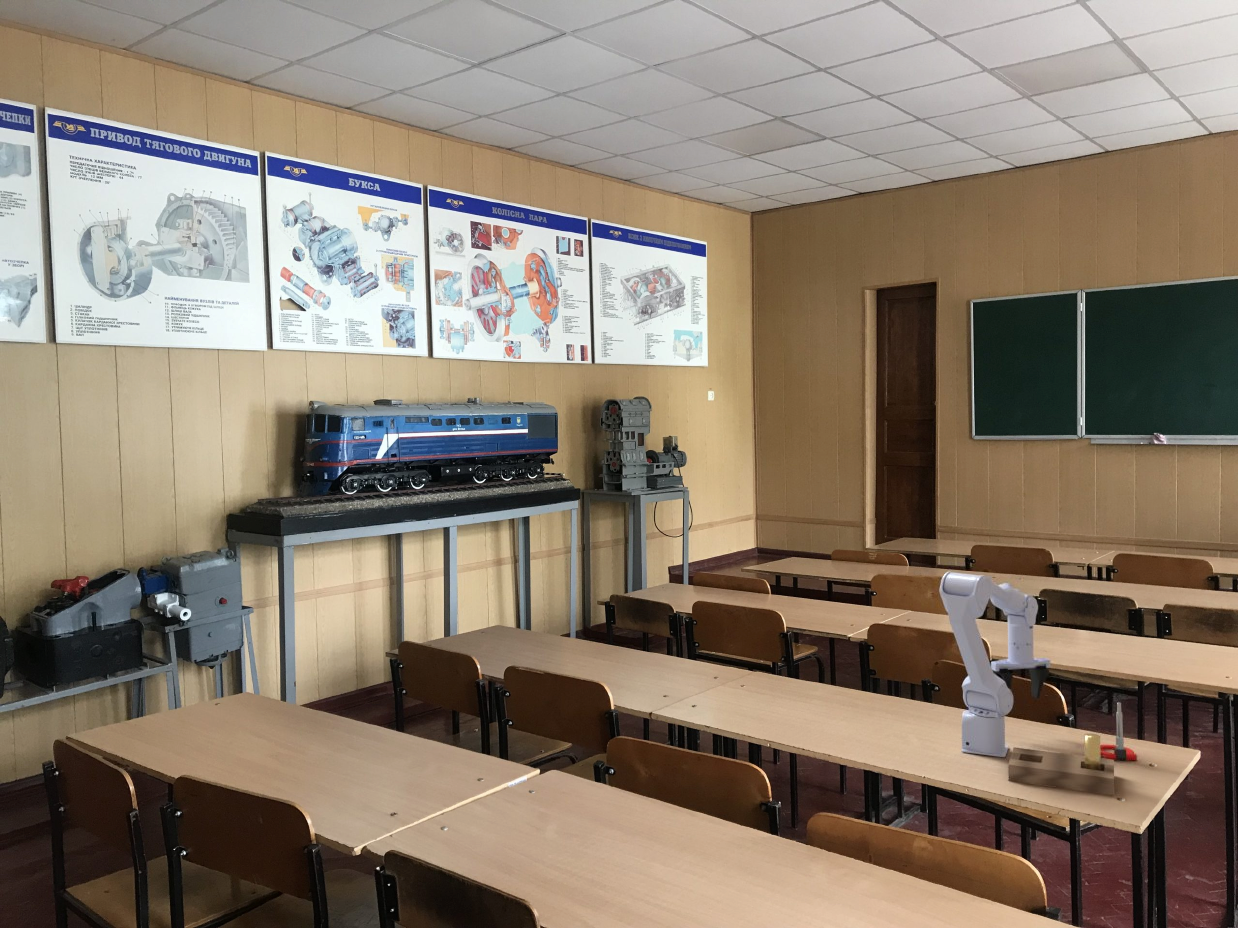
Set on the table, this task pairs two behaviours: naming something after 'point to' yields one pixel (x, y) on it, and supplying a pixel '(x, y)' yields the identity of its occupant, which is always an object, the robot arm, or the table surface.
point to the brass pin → (1092, 751)
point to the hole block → (1060, 771)
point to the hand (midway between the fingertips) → (1021, 697)
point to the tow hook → (1118, 743)
